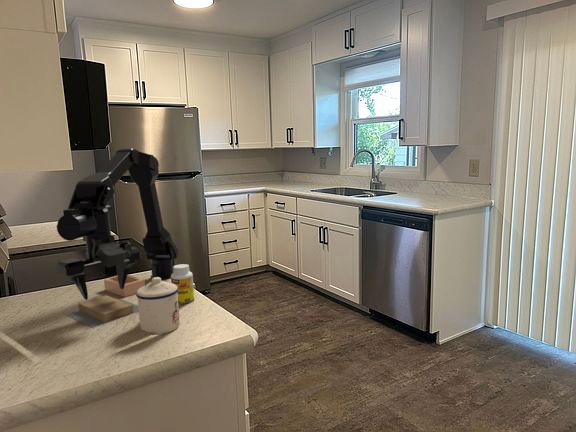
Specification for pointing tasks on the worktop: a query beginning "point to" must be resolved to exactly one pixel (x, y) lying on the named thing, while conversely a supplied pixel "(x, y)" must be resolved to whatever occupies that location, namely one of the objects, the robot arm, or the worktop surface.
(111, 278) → the peach open box
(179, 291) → the supplement bottle
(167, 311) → the teacup with lid
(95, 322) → the rubber mat
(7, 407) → the worktop surface
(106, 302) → the tan flat block
